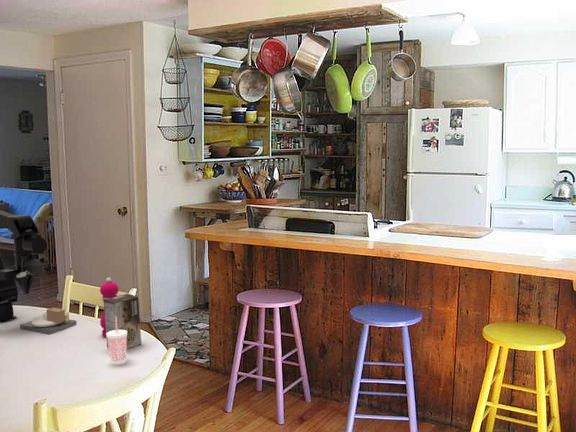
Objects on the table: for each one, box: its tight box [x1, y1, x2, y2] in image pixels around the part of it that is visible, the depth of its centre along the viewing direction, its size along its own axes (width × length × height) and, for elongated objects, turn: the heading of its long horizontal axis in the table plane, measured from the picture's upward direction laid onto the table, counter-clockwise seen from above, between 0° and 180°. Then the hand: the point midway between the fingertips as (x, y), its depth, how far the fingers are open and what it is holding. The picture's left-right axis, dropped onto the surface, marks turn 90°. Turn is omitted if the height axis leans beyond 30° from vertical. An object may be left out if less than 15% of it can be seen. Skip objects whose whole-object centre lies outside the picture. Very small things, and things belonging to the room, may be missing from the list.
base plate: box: [19, 318, 77, 335], centre depth 217 cm, size 15×12×2 cm
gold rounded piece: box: [63, 312, 70, 324], centre depth 216 cm, size 2×2×4 cm
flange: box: [31, 307, 66, 327], centre depth 216 cm, size 11×13×5 cm
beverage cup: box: [105, 316, 128, 365], centre depth 181 cm, size 6×6×14 cm
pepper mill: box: [99, 277, 120, 338], centre depth 206 cm, size 7×7×20 cm
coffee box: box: [103, 293, 142, 350], centre depth 194 cm, size 9×6×16 cm
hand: (26, 294), depth 216 cm, fingers closed
